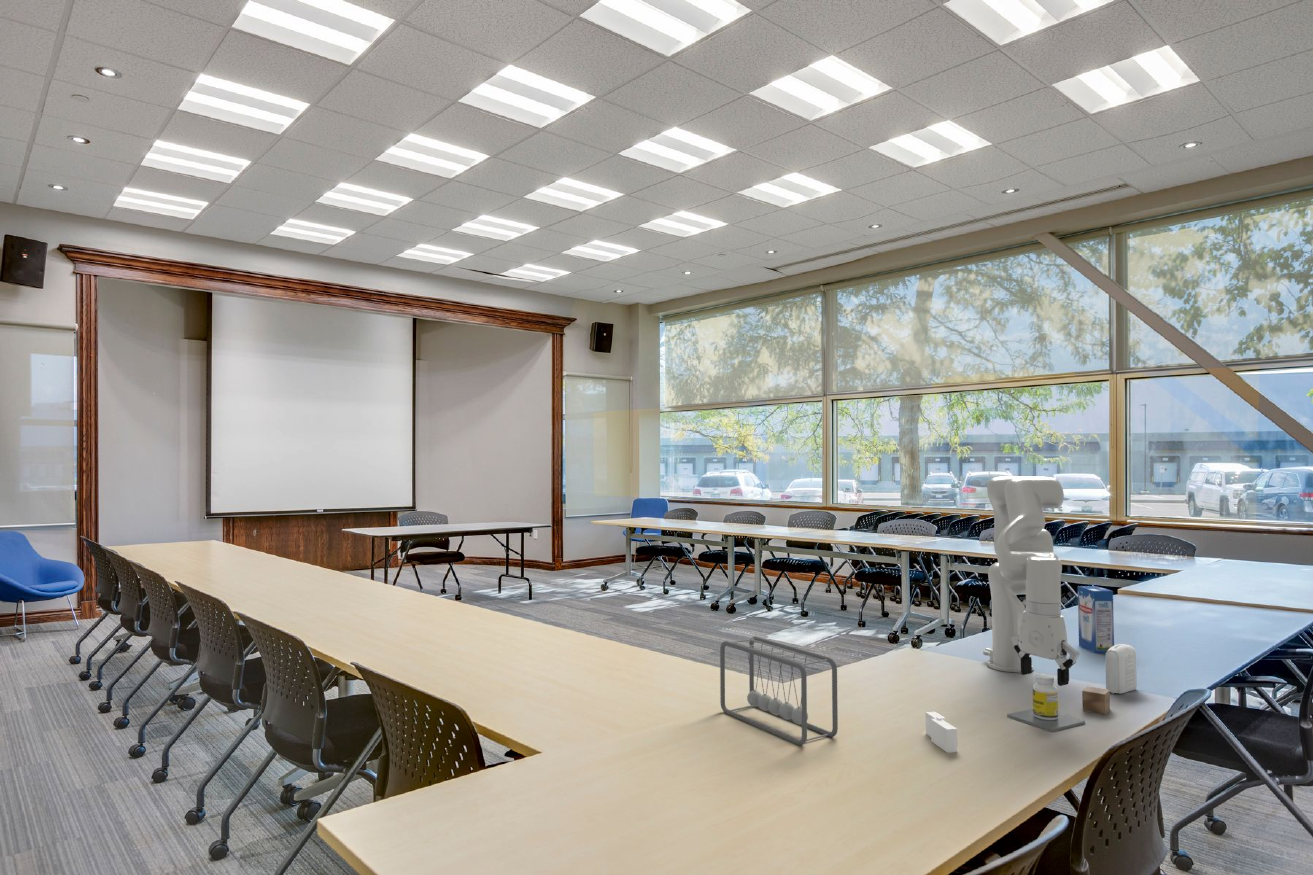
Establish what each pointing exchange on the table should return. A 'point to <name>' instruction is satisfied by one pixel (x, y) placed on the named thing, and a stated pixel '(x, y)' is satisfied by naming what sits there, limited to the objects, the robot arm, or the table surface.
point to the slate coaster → (1049, 725)
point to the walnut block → (1096, 700)
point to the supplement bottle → (1045, 698)
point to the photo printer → (1121, 669)
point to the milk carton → (1095, 618)
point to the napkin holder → (941, 732)
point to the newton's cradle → (775, 704)
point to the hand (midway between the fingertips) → (1044, 679)
